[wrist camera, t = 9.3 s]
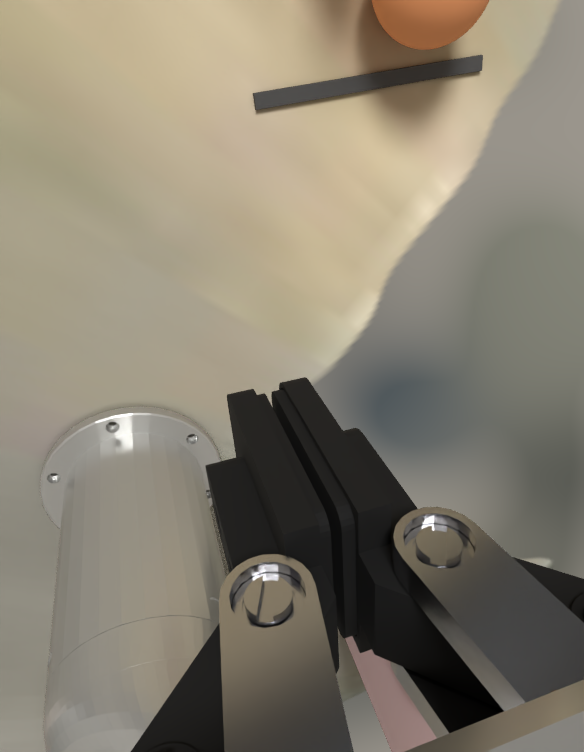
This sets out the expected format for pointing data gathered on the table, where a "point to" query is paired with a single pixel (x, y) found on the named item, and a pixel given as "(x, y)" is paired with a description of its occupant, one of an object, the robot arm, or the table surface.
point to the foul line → (366, 82)
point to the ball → (427, 20)
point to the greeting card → (390, 702)
